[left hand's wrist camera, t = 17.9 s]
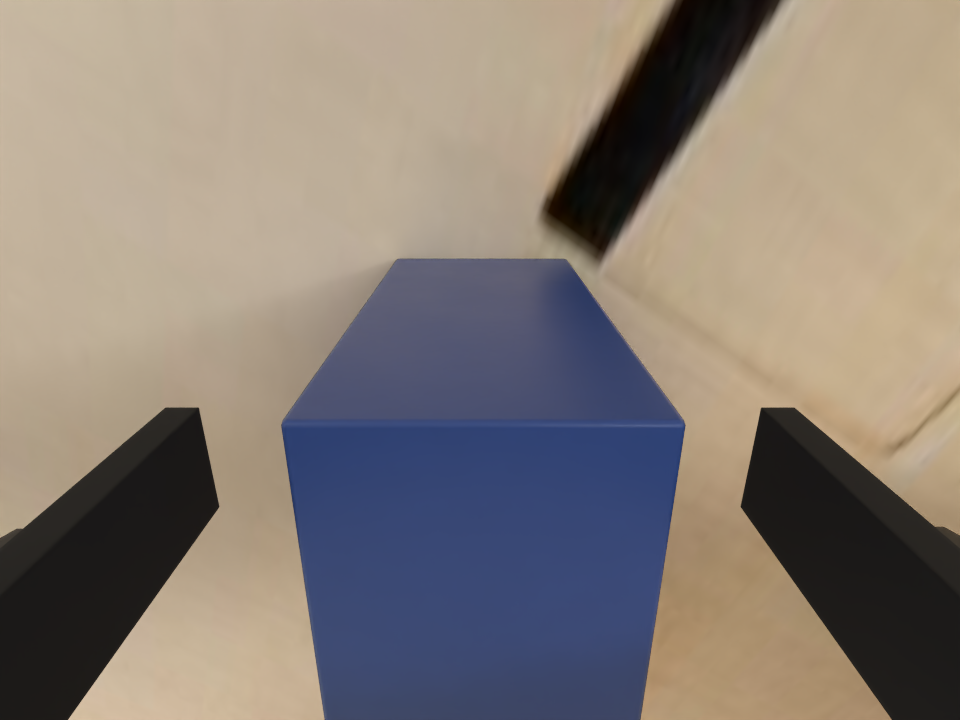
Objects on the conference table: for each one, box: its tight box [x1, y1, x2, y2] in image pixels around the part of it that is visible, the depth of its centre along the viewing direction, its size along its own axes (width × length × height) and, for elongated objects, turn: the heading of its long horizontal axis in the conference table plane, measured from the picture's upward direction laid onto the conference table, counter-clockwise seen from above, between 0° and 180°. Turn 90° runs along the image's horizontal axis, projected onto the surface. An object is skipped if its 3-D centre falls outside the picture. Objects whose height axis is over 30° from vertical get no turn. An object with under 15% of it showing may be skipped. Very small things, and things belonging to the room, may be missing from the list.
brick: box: [281, 259, 685, 720], centre depth 13 cm, size 5×7×11 cm
